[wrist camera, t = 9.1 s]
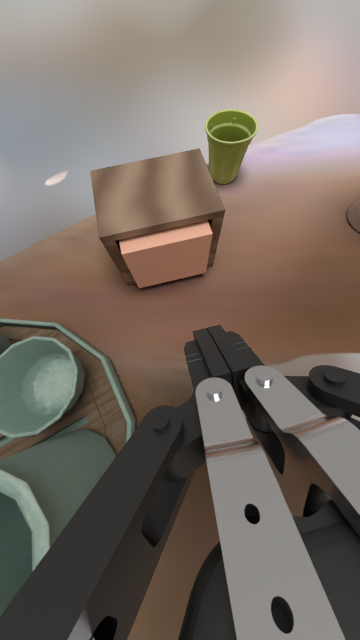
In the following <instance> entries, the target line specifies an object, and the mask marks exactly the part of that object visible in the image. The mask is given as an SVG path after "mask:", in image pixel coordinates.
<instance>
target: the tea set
mask: <svg viewBox="0 0 360 640" xmlns="http://www.w3.org/2000/svg"><path fill="white" fill-rule="evenodd" d="M134 431H135V417H134V414H133V412H132V410H131V407H130V405H129V403H128V400H127V398H126V396H125V394H124V391H123V389H122V387H121V384H120V382H119V380H118V377H117V375H116V373H115V371H114V368H113V366H112V364H111V361H110V359H109V358H108V357H107V356H105V355H104V354H103V353H101V352H100V351H98V350H97V349H96V348H94V347H93V346H92V345H90V344H89V343H87V342H86V341H85V340H83V339H82V338H80V337H79V336H78V335H76V334H75V333H73V332H72V331H71V330H69V329H68V328H66V327H65V326H63V325H61V324H59V323H51V322H39V321H26V320H14V319H1V318H0V616H1V615H2V613H3V612H4V611H5V609H6V608H7V606H8V605H9V604H10V602H11V601H12V599H13V598H14V597H15V595H16V594H17V593H18V591H19V590H20V588H21V587H22V586H23V584H24V583H25V582H26V580H27V579H28V577H29V576H30V575H31V573H32V572H33V570H34V569H35V568H36V566H37V565H38V564H39V562H40V561H41V559H42V558H43V557H44V555H45V554H46V553H47V551H48V550H49V548H50V547H51V546H52V544H53V543H54V542H55V540H56V539H57V537H58V536H59V535H60V533H61V532H62V530H63V529H64V528H65V526H66V525H67V524H68V522H69V521H70V519H71V518H72V517H73V515H74V514H75V513H76V511H77V510H78V508H79V507H80V506H81V504H82V503H83V502H84V500H85V499H86V497H87V496H88V495H89V493H90V492H91V490H92V489H93V488H94V486H95V485H96V484H97V482H98V481H99V479H100V478H101V477H102V475H103V474H104V473H105V471H106V470H107V468H108V467H109V466H110V464H111V463H112V461H113V460H114V459H115V457H116V456H117V455H118V453H119V452H120V450H121V449H122V448H123V446H124V445H125V444H126V442H127V441H128V439H129V438H130V437H131V435H132V434H133V433H134Z"/></svg>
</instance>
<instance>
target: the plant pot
mask: <svg viewBox="0 0 360 640" xmlns="http://www.w3.org/2000/svg"><path fill="white" fill-rule="evenodd" d="M205 130H206V133H207V137H208V142H209V172H210V175H211V177H212V179H213V180H214V181H215V182H216V183H219V184H227V183H230V182H231V181H232V180H234V179H235V178H236V176H237V173H238V171H239V168H240V165H241V163H242V160H243V158H244V155H245V153H246V150H247V148H248V145H249V144H250V142H251V140H252V138H253V137H254V136H255V135H256V133H257V130H258V123H257V121H256V119H255V118H254V117H253V116H252V115H250V114H248V113H246V112H244V111H240V110H223V111H220V112H217V113H215V114H213V115H212V116H210V117H209V119H208V120H207V121H206V125H205Z"/></svg>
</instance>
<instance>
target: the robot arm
mask: <svg viewBox="0 0 360 640" xmlns="http://www.w3.org/2000/svg"><path fill="white" fill-rule="evenodd" d="M347 218H348V221H349V223H350V224H351V225H352V227H353V228H354V229H356V230H357V231H358V232H360V197H359V198H358V199H357V200H356V201H355V202H354V203H353V204H352V205H351V206H350V208H349V209H348V212H347ZM193 335H194V341H190V342H186V345H185V348H184V351H185V356H186V360H187V365H188V369H189V373H190V377H191V380H192V384H193V388H194V392H193V395H192V396H191V398H190V399H189V400H188V401H187V402H186V403H185V404H183V405H182V406H180V407H178V408H177V409H175V408H174V407H172V406H167V405H163V406H159V407H156V408H154V409H152V410H151V411H150V412H149V413H148V414H147V415H146V416H145V417H144V419H143V420H142V421H141V423H140V424H139V426H138V427H137V428H136V430H135V431H134V433H133V434H132V435H131V437H130V438H129V439H128V441H127V442H126V444H125V445H124V446H123V448H122V449H121V450H120V452H119V453H118V455H117V456H116V457H115V459H114V460H113V461H112V463H111V464H110V466H109V467H108V468H107V470H106V471H105V473H104V474H103V475H102V477H101V478H100V479H99V481H98V482H97V484H96V485H95V486H94V488H93V489H92V490H91V492H90V493H89V495H88V496H87V497H86V499H85V500H84V502H83V503H82V504H81V506H80V507H79V508H78V510H77V511H76V513H75V514H74V515H73V517H72V518H71V519H70V521H69V522H68V524H67V525H66V526H65V528H64V529H63V530H62V532H61V533H60V535H59V536H58V537H57V539H56V540H55V542H54V543H53V544H52V546H51V547H50V548H49V550H48V551H47V553H46V554H45V555H44V557H43V558H42V559H41V561H40V562H39V564H38V565H37V566H36V568H35V569H34V570H33V572H32V573H31V575H30V576H29V577H28V579H27V580H26V582H25V583H24V584H23V586H22V587H21V588H20V590H19V591H18V593H17V594H16V595H15V597H14V598H13V599H12V601H11V602H10V604H9V605H8V606H7V608H6V609H5V611H4V612H3V613H2V615H1V616H0V640H127V638H128V636H129V633H130V631H131V628H132V626H133V623H134V621H135V618H136V616H137V613H138V611H139V608H140V606H141V603H142V601H143V598H144V596H145V593H146V591H147V588H148V586H149V583H150V581H151V578H152V576H153V573H154V571H155V568H156V566H157V564H158V561H159V559H160V556H161V554H162V551H163V549H164V546H165V544H166V541H167V539H168V536H169V534H170V531H171V529H172V526H173V524H174V521H175V519H176V516H177V514H178V511H179V509H180V506H181V504H182V501H183V499H184V496H185V494H186V492H187V489H188V487H189V484H190V482H191V479H192V477H193V474H194V471H195V470H196V469H197V468H198V467H200V466H201V465H202V464H204V463H205V462H207V468H208V474H209V479H210V485H211V491H212V497H213V503H214V509H215V514H216V520H217V526H218V532H219V538H220V542H219V543H218V544H217V545H216V546H215V547H214V548H213V549H212V551H211V552H210V553H209V555H208V556H207V558H206V559H205V561H204V563H203V565H202V567H201V569H200V571H199V573H198V575H197V577H196V580H195V583H194V585H193V588H192V591H191V594H190V598H189V601H188V605H187V609H186V612H185V616H184V620H183V624H182V628H181V631H180V635H179V639H178V640H360V421H358V420H355V419H353V418H351V416H352V414H353V415H355V416H358V417H360V374H359V373H356V372H352V371H348V370H345V369H342V368H338V367H334V366H328V365H321V366H316V367H314V368H312V369H311V371H310V373H309V377H308V376H301V377H300V376H283V375H282V374H281V373H280V372H279V371H278V370H276V369H274V368H272V367H268V366H265V365H264V364H263V363H262V362H261V360H260V359H259V358H258V357H257V356H256V354H255V353H254V352H253V351H252V350H251V348H250V347H248V345H247V344H246V342H244V340H243V339H242V338H241V336H240V335H238V334H236V333H234V332H232V331H231V332H227V333H226V332H225V331H224V329H223V328H222V327H221V325H217V326H213V327H209V328H207V329H206V328H205V329H201V330H197V331H193ZM242 410H243V411H244V413H245V415H246V420H247V422H246V420H245V418H244V415H243V412H242ZM252 436H253V437H252ZM253 438H254V439H255V440H254V439H253ZM272 470H273V471H272ZM273 472H274V474H275V476H276V478H277V480H278V482H279V484H280V487H281V490H280V487H279V485H278V483H277V480H276V478H275V476H274V474H273ZM281 491H282V492H281ZM290 511H291V513H292V515H293V516H292V515H291V513H290Z"/></svg>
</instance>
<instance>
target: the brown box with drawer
mask: <svg viewBox="0 0 360 640" xmlns="http://www.w3.org/2000/svg"><path fill="white" fill-rule="evenodd" d="M90 173H91V180H92V187H93V195H94V202H95V210H96V218H97V225H98V233H99V238H100V240H101V241H102V243H103V245H104V246H105V248H106V250H107V251H108V253H109V255H110V256H111V258H112V259H113V261H114V263H115V264H116V266H117V268H118V269H119V271H120V273H121V274H122V276H123V277H124V279H125V281H126V282H127V284H128V285H132V284H136V281H135V279H134V278H133V276H132V274H131V272H130V270H129V268H128V266H127V264H126V262H125V260H124V258H123V256H122V254H121V248H120V243H119V240H120V239H124V238H129V237H133V236H138V235H142V234H147V233H151V232H156V231H160V230H165V229H169V228H174V227H179V226H183V225H188V224H192V223H197V222H201V221H206V220H208V223H209V225H210V228H211V231H212V233H213V235H212V240H211V246H210V252H209V257H208V263H207V267H209V266H213V262H214V258H215V253H216V249H217V244H218V240H219V235H220V231H221V226H222V222H223V218H224V213H225V208H224V206H223V203H222V201H221V199H220V196H219V194H218V191H217V189H216V187H215V184H214V182H213V180H212V177H211V175H210V172H209V170H208V168H207V165H206V163H205V161H204V158H203V156H202V153H201V151H200V149H195V150H190V151H185V152H181V153H176V154H171V155H166V156H161V157H156V158H151V159H146V160H141V161H136V162H132V163H127V164H122V165H117V166H112V167H107V168H102V169H97V170H92V171H91V172H90Z"/></svg>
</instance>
